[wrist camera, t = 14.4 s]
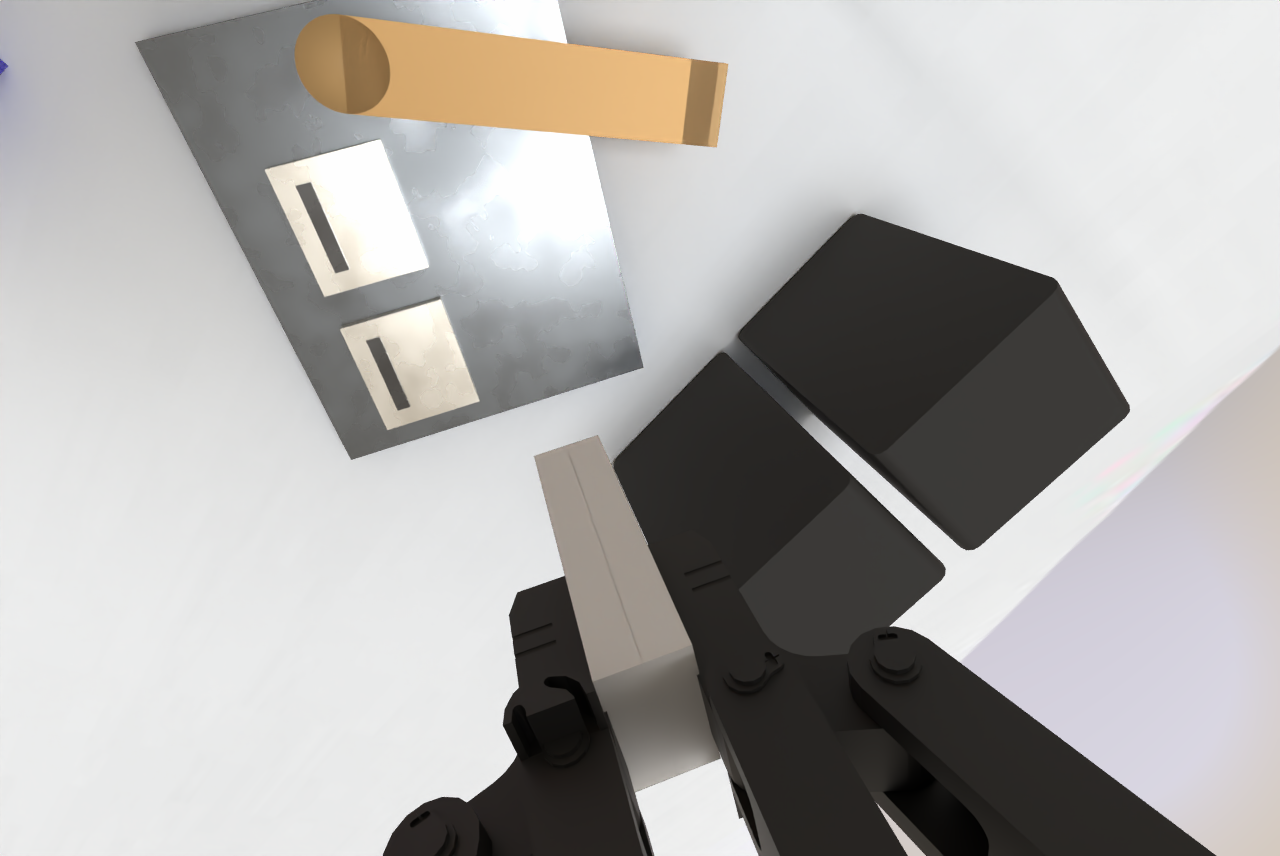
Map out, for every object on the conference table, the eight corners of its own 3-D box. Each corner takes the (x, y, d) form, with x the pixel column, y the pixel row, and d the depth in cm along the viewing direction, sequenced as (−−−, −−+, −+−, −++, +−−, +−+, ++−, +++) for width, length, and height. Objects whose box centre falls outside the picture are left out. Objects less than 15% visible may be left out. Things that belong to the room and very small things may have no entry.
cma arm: (311, 106, 34) (300, 109, 31) (301, 13, 32) (288, 8, 30) (697, 141, 40) (716, 147, 37) (707, 64, 38) (728, 63, 35)
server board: (150, 43, 34) (129, 41, 31) (539, -48, 36) (546, -56, 34) (354, 445, 46) (350, 465, 43) (636, 356, 48) (646, 371, 46)
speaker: (700, 528, 57) (804, 706, 41) (610, 461, 52) (689, 635, 36) (927, 308, 53) (1138, 410, 37) (854, 211, 48) (1065, 281, 32)
